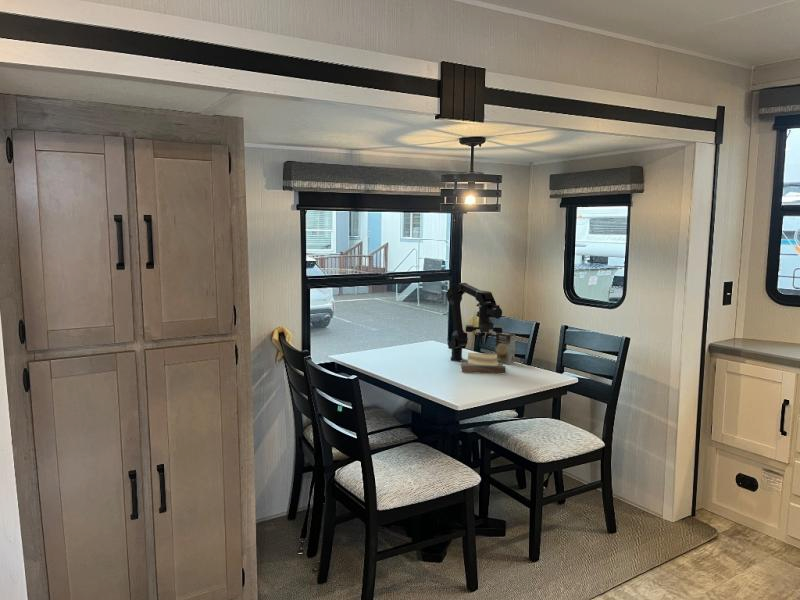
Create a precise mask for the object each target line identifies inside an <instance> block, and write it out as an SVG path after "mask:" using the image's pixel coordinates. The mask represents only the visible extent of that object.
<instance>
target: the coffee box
mask: <svg viewBox="0 0 800 600" xmlns="http://www.w3.org/2000/svg"><path fill="white" fill-rule="evenodd" d="M516 337H517V336H516V334H515V333H511V332H506V331H505V332H504V331H502V333H496V332H495V347H494V348H495V349H494V354H497V361H498V363H500V364H503V365H504V364H505V365H510V364H514V361H515V347H516Z"/></svg>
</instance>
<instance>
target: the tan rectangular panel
mask: <svg viewBox="0 0 800 600" xmlns="http://www.w3.org/2000/svg"><path fill="white" fill-rule="evenodd" d="M467 362H468V364H469V365H493V366H498V363H499V362H498V361H497V354H495V353H484V352H483V353H482V352H467Z"/></svg>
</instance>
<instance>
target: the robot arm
mask: <svg viewBox="0 0 800 600" xmlns="http://www.w3.org/2000/svg"><path fill="white" fill-rule="evenodd" d="M445 293H446V299H447V302H448V303H449V305H450V307H451V316H452V317H451V318H452V325H453V326H452V327H453V332H452V335H451V340H450V342H449V343H448V344H447V347H448V349H450V350H451V356H450V360H451V361H460V360H462V361H464V359H463V349H467V348H466V347H467V345H468V341H469V338H468V333H473V332H474V331H475V334H476V335H477V336H478V338H479V340H480V345H481V346H483V345H484V346H485V345H486V343H487V342H488V341H487V340H488V338H489V337H490V335H492V334H493V332H495V334H496V333H502V332H503V328H502V326H501V325H494V322H490V319H491V318H492V319H496V320H498V319H500V318H501V317H502V316H503V310H502V308H501V307H500V305H498V304H497V302H496V300H495V297H494V295H493V292H491V291H488V290H481V289H478V288H477V287H475V286H472V285H470V284H468V283H466V282H460V283H457V284H456V285H454V286H451V287H450V288H448V289H447V290H446V292H445ZM464 294H468V295H469V296H471V297H474V298H475V300H476V301H477V302H478V303H477V304H476V305H475V306H476V307H478V326H474V324H465V331H464V327H463V320H462V310H461V302H462V300H463V295H464ZM482 333H484V339H483V337H482V336H483V335H482ZM483 340H484V341H483Z"/></svg>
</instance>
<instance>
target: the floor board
mask: <svg viewBox="0 0 800 600" xmlns="http://www.w3.org/2000/svg"><path fill="white" fill-rule="evenodd" d="M460 368H461V369H460V370H462V371H461V373H475V372H480V374H498V373H505V374H506V366H505V365H504V363H499V362H498V366H493V365H469V364H468V361H460Z"/></svg>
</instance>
